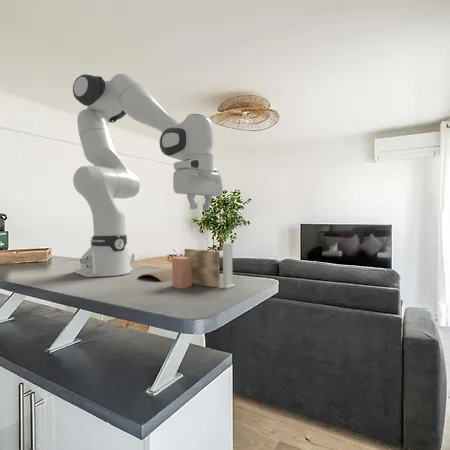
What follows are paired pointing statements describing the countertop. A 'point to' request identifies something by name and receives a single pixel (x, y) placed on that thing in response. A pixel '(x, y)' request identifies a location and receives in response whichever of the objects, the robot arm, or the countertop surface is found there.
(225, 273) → the wall post
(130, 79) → the robot arm
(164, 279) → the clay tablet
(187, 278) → the block
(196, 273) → the oak door
